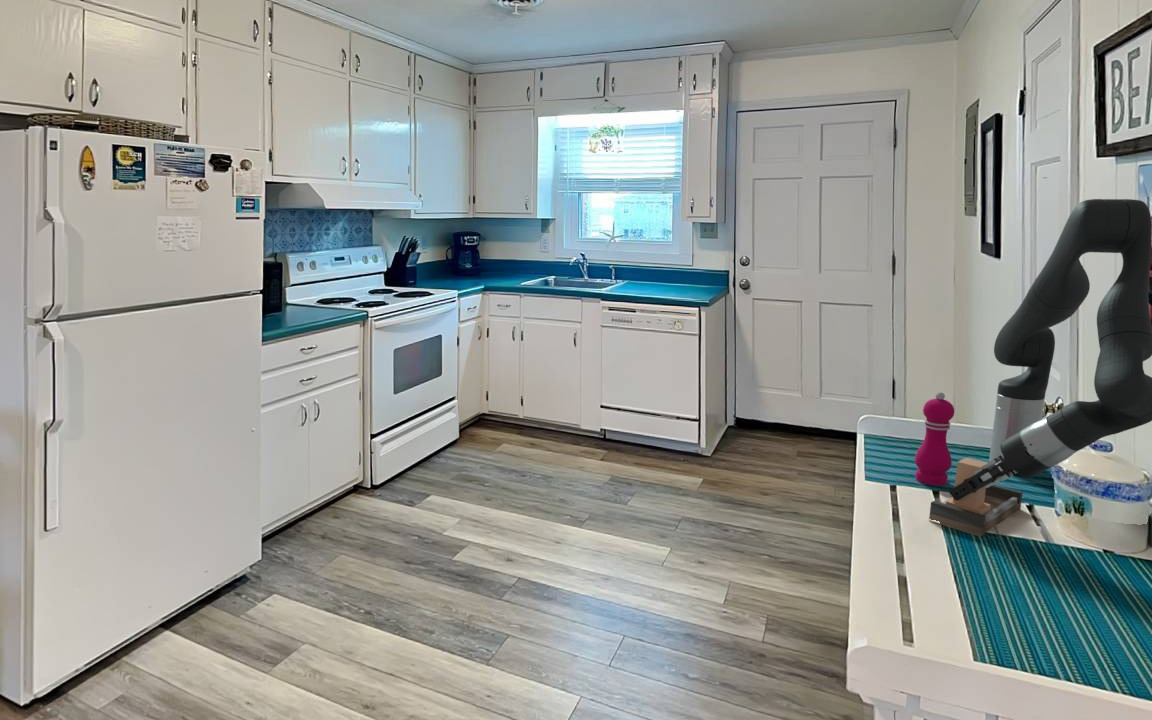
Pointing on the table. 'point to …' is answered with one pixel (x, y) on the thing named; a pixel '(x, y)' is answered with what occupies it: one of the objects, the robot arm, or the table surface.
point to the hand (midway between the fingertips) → (958, 492)
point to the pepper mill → (935, 442)
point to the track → (974, 523)
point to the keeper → (971, 500)
